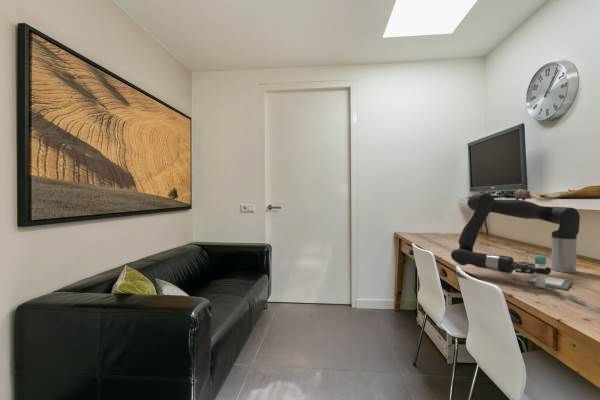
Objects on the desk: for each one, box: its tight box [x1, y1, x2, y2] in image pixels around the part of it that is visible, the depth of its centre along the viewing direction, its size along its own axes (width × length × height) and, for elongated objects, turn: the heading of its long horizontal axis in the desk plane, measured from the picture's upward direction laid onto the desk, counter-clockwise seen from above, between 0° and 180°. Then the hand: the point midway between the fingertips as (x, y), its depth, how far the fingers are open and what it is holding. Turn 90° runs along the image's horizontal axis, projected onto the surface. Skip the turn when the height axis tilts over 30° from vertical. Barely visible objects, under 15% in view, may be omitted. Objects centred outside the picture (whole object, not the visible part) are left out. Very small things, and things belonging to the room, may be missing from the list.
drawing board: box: [525, 273, 573, 291], centre depth 118 cm, size 16×13×1 cm
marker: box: [534, 254, 547, 289], centre depth 111 cm, size 4×4×13 cm
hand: (549, 271), depth 109 cm, fingers closed on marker, 3 cm apart
